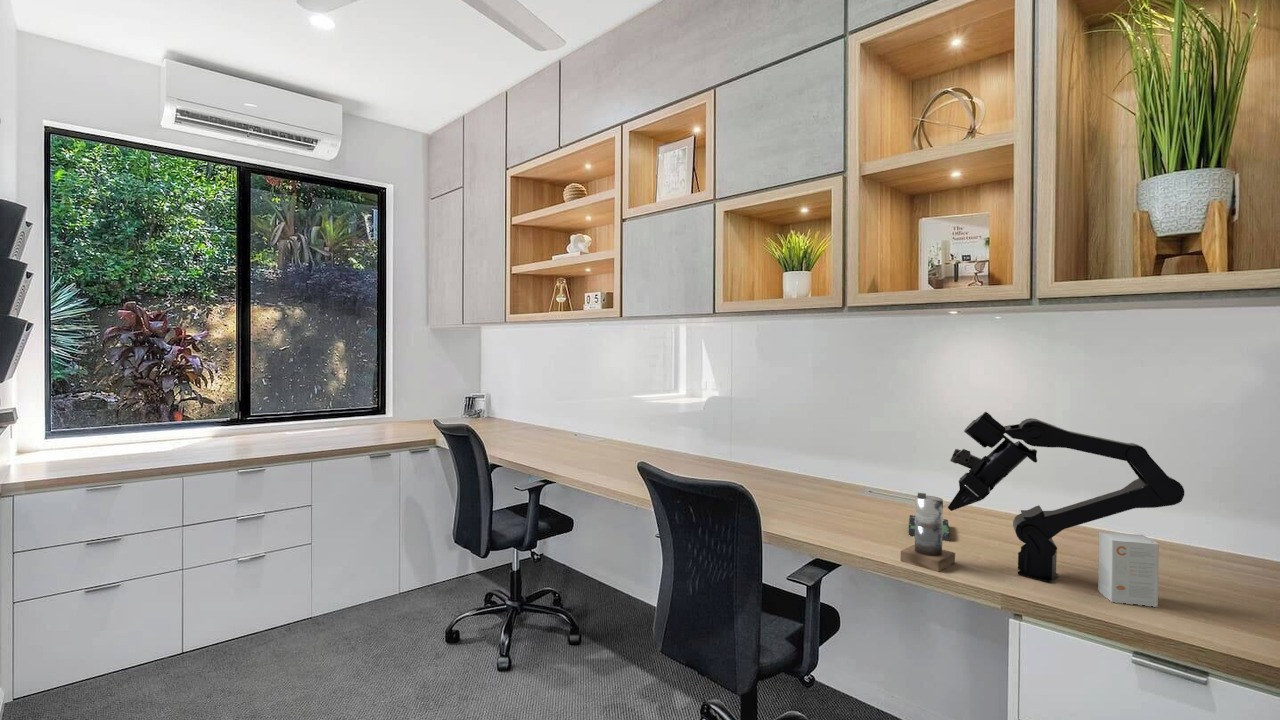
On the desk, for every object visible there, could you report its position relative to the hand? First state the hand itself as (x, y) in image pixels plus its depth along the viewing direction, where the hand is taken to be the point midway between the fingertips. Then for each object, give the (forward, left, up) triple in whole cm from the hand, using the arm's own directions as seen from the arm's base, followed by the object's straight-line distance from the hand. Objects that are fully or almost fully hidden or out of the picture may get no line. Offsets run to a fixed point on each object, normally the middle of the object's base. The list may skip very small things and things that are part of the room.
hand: (951, 507), depth 144 cm
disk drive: (+15, -21, -14) cm, 29 cm away
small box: (-32, -7, -14) cm, 36 cm away
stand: (+4, +4, -13) cm, 14 cm away
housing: (+4, +4, -11) cm, 12 cm away
